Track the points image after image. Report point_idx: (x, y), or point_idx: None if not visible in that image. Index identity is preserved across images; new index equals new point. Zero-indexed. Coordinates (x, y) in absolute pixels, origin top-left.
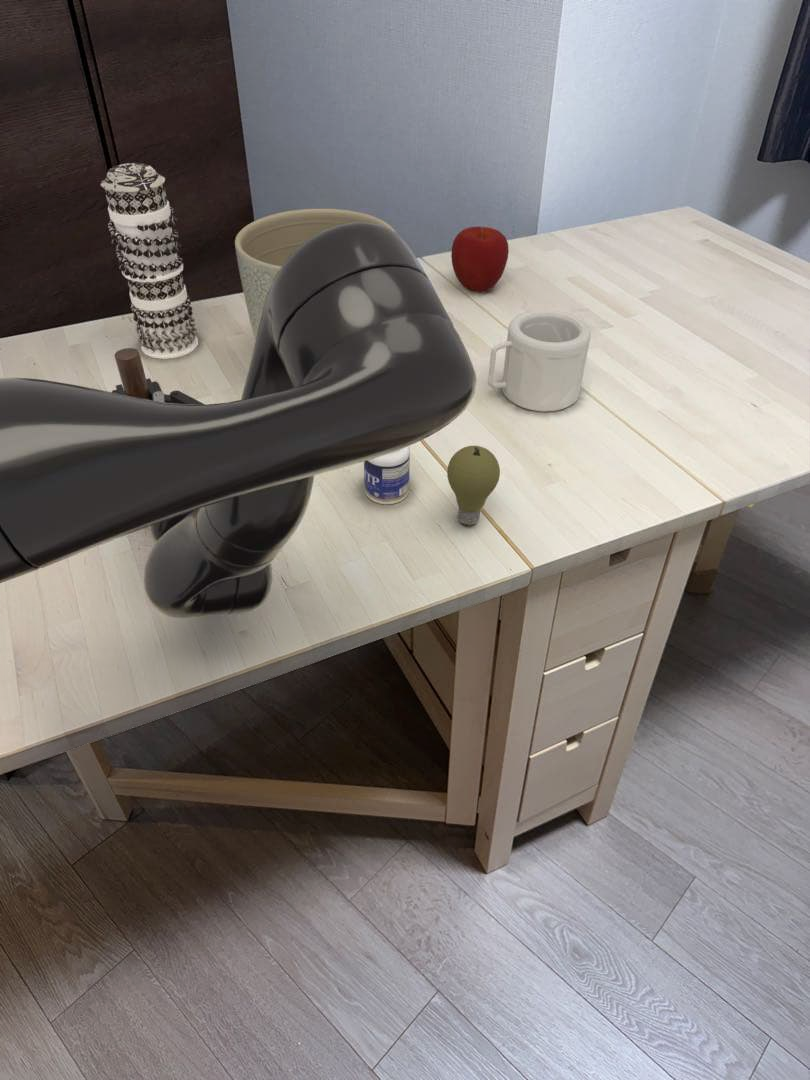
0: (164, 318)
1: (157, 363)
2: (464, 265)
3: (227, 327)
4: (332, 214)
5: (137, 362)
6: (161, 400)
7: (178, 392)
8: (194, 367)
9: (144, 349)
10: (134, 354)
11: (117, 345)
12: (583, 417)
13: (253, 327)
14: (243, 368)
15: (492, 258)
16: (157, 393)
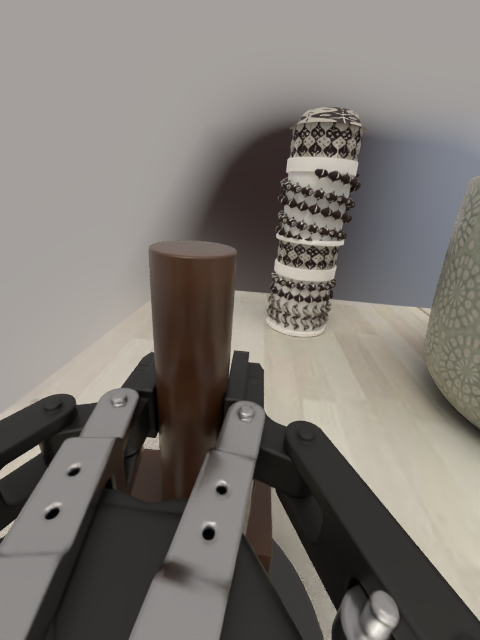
0: (302, 291)
1: (276, 336)
2: None
3: (357, 324)
4: None
5: (213, 283)
6: (241, 466)
7: (317, 436)
8: (316, 353)
9: (268, 319)
10: (215, 252)
11: (246, 310)
12: None
13: (452, 323)
14: (381, 375)
15: None
16: (244, 412)
